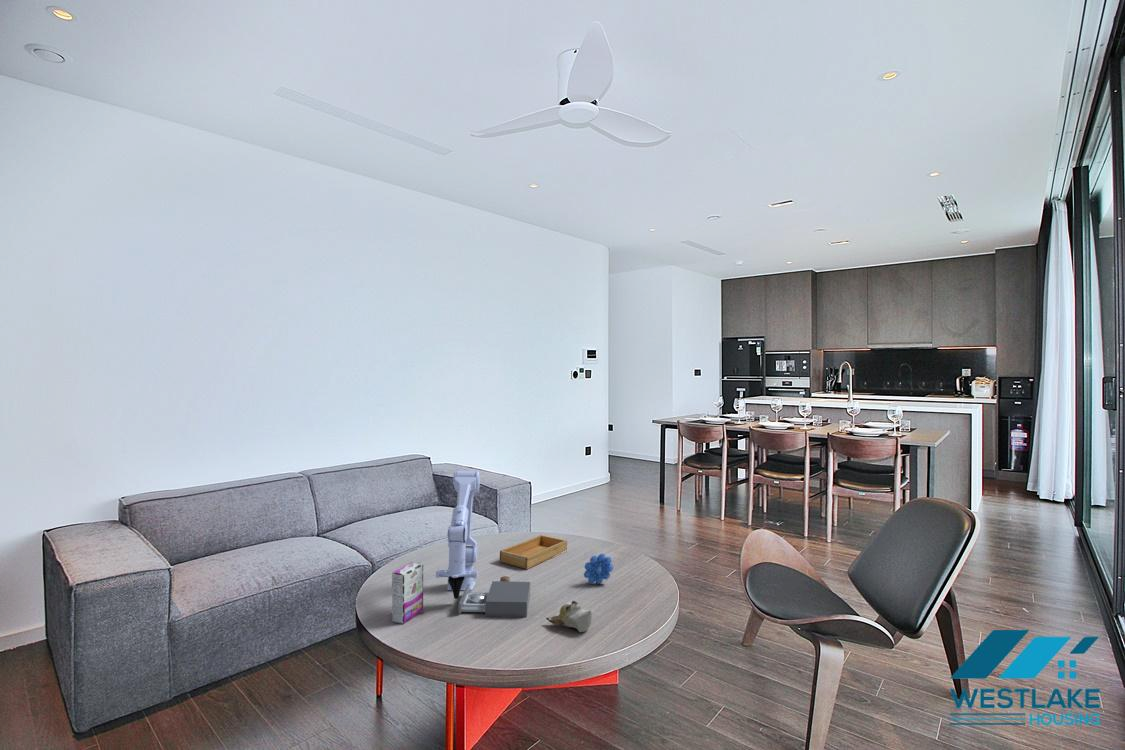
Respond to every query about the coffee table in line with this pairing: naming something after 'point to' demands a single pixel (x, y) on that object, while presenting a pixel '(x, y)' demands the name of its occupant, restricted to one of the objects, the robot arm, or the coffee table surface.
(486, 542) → the coffee table surface
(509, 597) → the player housing
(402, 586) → the candy bar box
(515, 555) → the tray
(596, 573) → the blue flower shape
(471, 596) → the silver disc
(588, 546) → the coffee table surface
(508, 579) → the walnut disc stand
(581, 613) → the ceramic sculpture
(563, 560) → the coffee table surface
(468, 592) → the tray
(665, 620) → the coffee table surface
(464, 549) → the robot arm
